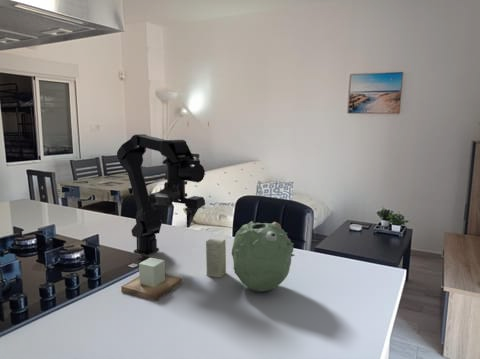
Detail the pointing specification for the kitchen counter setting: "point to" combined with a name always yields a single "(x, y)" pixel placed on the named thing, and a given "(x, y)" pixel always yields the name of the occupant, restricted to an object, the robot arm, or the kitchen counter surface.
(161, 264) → the block
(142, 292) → the plinth
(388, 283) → the kitchen counter surface
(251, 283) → the green bumpy vase
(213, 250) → the box
